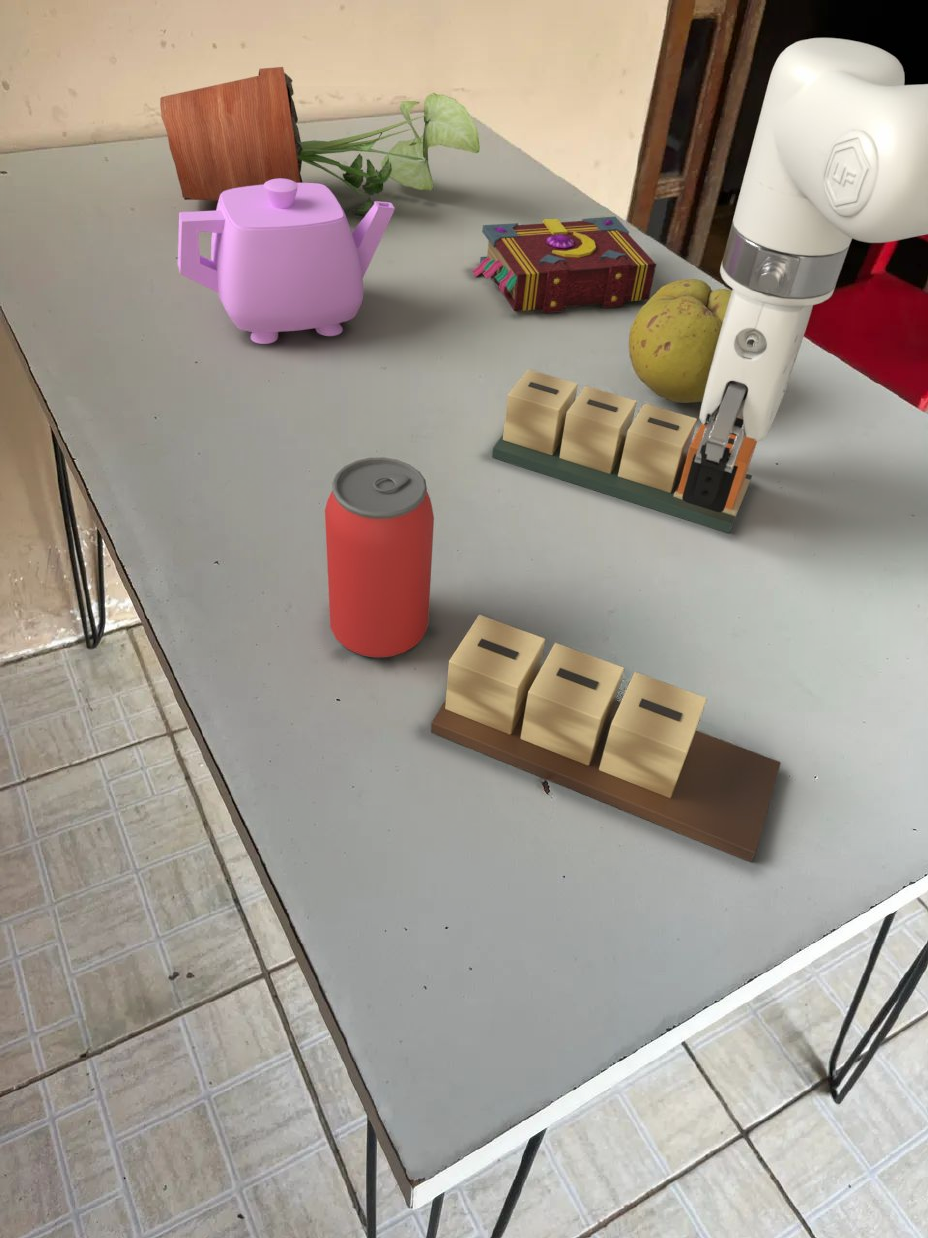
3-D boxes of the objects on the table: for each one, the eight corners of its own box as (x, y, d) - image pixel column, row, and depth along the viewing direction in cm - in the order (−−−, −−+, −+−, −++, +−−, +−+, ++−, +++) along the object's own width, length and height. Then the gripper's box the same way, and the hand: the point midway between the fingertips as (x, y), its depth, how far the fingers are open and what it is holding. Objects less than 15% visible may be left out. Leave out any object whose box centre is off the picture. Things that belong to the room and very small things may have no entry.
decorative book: (650, 305, 101) (660, 258, 97) (502, 318, 97) (507, 270, 93) (608, 256, 108) (615, 210, 105) (469, 266, 104) (472, 220, 101)
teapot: (198, 362, 87) (178, 222, 78) (177, 297, 96) (157, 163, 87) (411, 336, 93) (414, 202, 84) (374, 277, 101) (374, 149, 92)
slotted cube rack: (749, 484, 80) (768, 428, 76) (729, 533, 75) (748, 476, 71) (523, 415, 85) (530, 359, 81) (491, 457, 80) (497, 399, 76)
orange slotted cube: (744, 479, 78) (760, 432, 75) (731, 510, 75) (747, 462, 72) (691, 463, 79) (704, 416, 76) (677, 492, 76) (690, 445, 73)
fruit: (596, 366, 91) (615, 263, 84) (711, 357, 94) (738, 256, 87) (640, 434, 84) (665, 327, 77) (763, 422, 87) (798, 318, 80)
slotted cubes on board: (776, 771, 59) (804, 714, 55) (751, 862, 55) (779, 807, 51) (476, 657, 64) (483, 598, 60) (430, 732, 60) (434, 672, 56)
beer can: (446, 639, 65) (457, 497, 57) (361, 677, 63) (358, 533, 54) (395, 581, 69) (397, 439, 61) (312, 614, 66) (302, 471, 58)
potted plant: (187, 251, 106) (502, 220, 110) (152, 98, 96) (501, 69, 100) (190, 200, 117) (475, 173, 121) (159, 58, 107) (472, 34, 111)
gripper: (816, 330, 57) (738, 553, 70) (859, 224, 69) (786, 431, 81) (692, 298, 59) (638, 520, 72) (755, 200, 71) (699, 406, 83)
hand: (717, 472), depth 76 cm, fingers open, 8 cm apart
